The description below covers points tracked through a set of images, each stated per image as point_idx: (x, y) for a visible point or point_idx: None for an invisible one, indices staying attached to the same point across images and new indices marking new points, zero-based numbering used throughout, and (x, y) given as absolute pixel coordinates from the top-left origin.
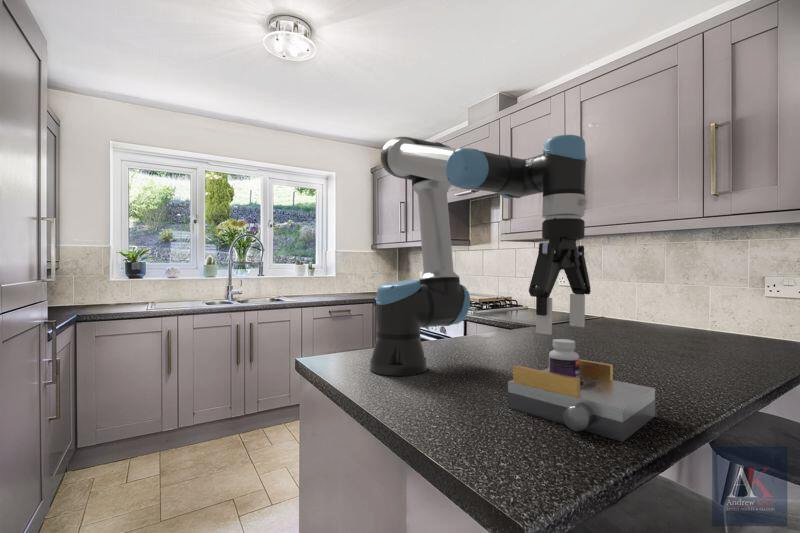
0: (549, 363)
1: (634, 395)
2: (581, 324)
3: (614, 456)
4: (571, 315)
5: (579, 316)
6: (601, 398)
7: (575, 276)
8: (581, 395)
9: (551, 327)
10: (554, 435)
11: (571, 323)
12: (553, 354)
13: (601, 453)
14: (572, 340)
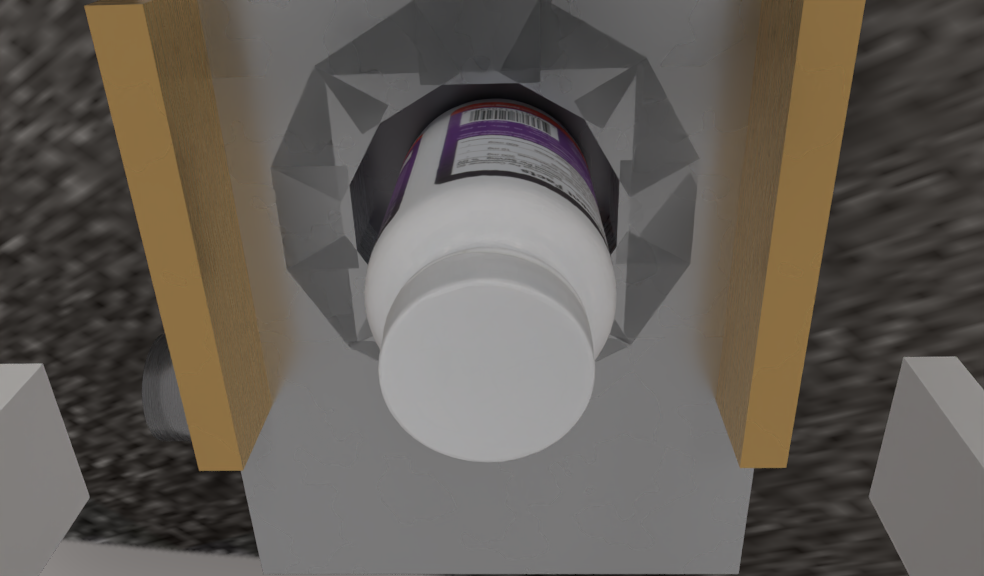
0: (405, 190)
1: (516, 551)
2: (883, 506)
3: (157, 493)
4: (961, 474)
5: (932, 565)
6: (329, 479)
7: None
8: (290, 404)
9: (42, 553)
10: (114, 296)
11: (909, 398)
12: (373, 274)
13: (137, 462)
14: (568, 421)
